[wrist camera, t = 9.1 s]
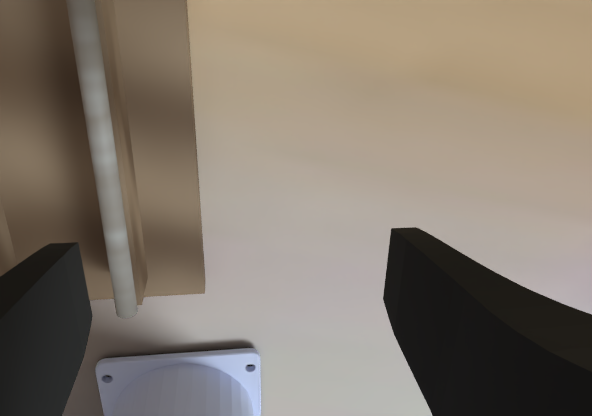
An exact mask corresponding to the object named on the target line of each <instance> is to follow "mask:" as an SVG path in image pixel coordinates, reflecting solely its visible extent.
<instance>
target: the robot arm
mask: <svg viewBox="0 0 592 416" xmlns="http://www.w3.org/2000/svg"><path fill="white" fill-rule="evenodd" d="M383 300H384V303H385V307H386V310H387V313H388V317H389V320H390V323H391V326H392V329H393V332H394V335H395V337H396V339H397V341H398V344H399V346H400V348H401V350H402V352H403V354H404V356H405V358H406V361H407V363H408V365H409V367H410V369H411V371H412V373H413V375H414V377H415V379H416V381H417V383H418V385H419V387H420V390H421V392H422V394H423V396H424V398H425V400H426V402H427V404H428V406H429V408H430V410H431V413H432V415H433V416H592V315H591V314H589V313H586V312H583V311H580V310H577V309H575V308H572V307H569V306H567V305H564V304H562V303H559V302H557V301H554V300H552V299H550V298H547V297H545V296H543V295H540V294H538V293H536V292H533V291H531V290H529V289H527V288H525V287H523V286H521V285H519V284H517V283H515V282H513V281H511V280H509V279H507V278H505V277H503V276H501V275H499V274H497V273H495V272H494V271H492V270H490V269H488V268H486V267H484V266H483V265H481V264H479V263H477V262H476V261H474V260H472V259H471V258H469V257H467V256H465V255H464V254H462V253H460V252H459V251H457V250H455V249H454V248H452V247H450V246H449V245H447V244H445V243H444V242H442V241H440V240H439V239H437V238H435V237H433V236H432V235H430V234H428V233H426V232H424V231H423V230H420V229H418V228H416V227H415V228H392V229H391V236H390V245H389V253H388V262H387V271H386V279H385V288H384V296H383ZM91 321H92V311H91V306H90V301H89V296H88V290H87V285H86V280H85V274H84V269H83V264H82V259H81V253H80V248H79V243H78V242H71V243H50V244H48V245H46V246H44V247H43V248H41V249H39V250H38V251H36V252H35V253H33V254H32V255H30V256H29V257H28V258H26V259H25V260H23V261H22V262H20V263H19V264H18V265H16V266H15V267H13V268H12V269H10V270H9V271H8V272H6V273H5V274H3V275H2V276H0V416H62V414H63V411H64V408H65V406H66V403H67V400H68V398H69V395H70V392H71V390H72V387H73V384H74V382H75V379H76V376H77V374H78V371H79V368H80V366H81V363H82V360H83V357H84V354H85V349H86V345H87V341H88V336H89V331H90V326H91ZM249 364H253V366H251V367H249V366H247V365H249ZM95 372H96V377H97V383H98V388H99V393H100V398H101V403H102V408H103V413H104V416H261V385H260V354H259V352H258V351H257V350H256V349H254V348H243V349H229V350H215V351H201V352H187V353H173V354H159V355H145V356H131V357H117V358H105V359H101V360H100V361H98V363H97V365H96V369H95ZM104 375H110V376H112V377H106V376H104Z"/></svg>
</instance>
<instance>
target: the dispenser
mask: <svg viewBox="0 0 592 416" xmlns="http://www.w3.org/2000/svg"><path fill="white" fill-rule="evenodd" d="M71 242H78V243H79V248H80V253H81V259H82V264H83V269H84V274H85V280H86V285H87V290H88V296H89V300H98V299H114V301H115V307H116V313H117V316H118V317H120V318H130V317H133V316H134V315H136V314H137V312H138V308H137V305H142V302H143V297H150V296H168V295H185V294H202V293H205V269H204V254H203V239H202V224H201V209H200V194H199V179H198V164H197V149H196V134H195V119H194V104H193V89H192V74H191V59H190V44H189V29H188V14H187V0H0V276H2V275H3V274H5V273H6V272H8V271H9V270H10V269H12V268H13V267H15V266H16V265H18V264H19V263H20V262H22V261H23V260H25V259H26V258H28V257H29V256H30V255H32V254H33V253H35V252H36V251H38V250H39V249H41V248H43V247H44V246H46V245H48V244H50V243H71Z"/></svg>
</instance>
